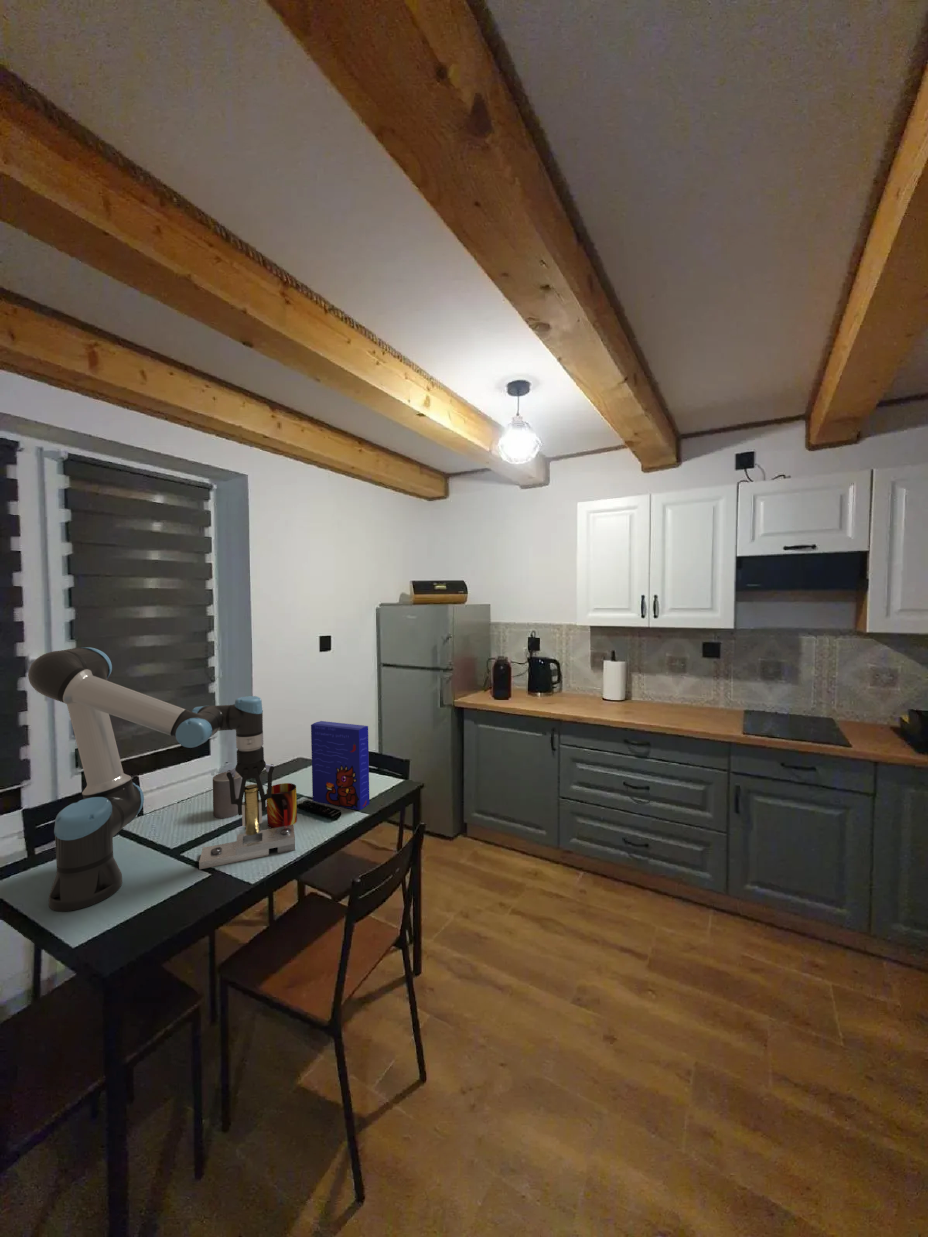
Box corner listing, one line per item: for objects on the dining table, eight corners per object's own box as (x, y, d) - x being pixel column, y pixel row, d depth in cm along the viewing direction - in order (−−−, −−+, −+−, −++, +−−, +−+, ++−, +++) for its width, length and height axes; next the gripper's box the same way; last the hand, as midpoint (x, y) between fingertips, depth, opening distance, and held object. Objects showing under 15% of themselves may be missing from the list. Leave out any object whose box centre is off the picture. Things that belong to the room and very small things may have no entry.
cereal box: (369, 803, 177) (368, 725, 176) (360, 810, 172) (358, 729, 171) (322, 795, 186) (321, 720, 185) (312, 801, 180) (310, 724, 179)
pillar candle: (210, 812, 172) (208, 772, 171) (238, 804, 178) (237, 765, 177) (217, 821, 164) (216, 779, 164) (246, 813, 171) (245, 772, 170)
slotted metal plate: (199, 869, 135) (198, 853, 134) (203, 854, 143) (202, 839, 143) (295, 850, 145) (294, 835, 144) (293, 836, 153) (293, 822, 153)
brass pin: (244, 837, 141) (242, 791, 140) (244, 830, 145) (243, 785, 145) (260, 833, 143) (259, 788, 142) (260, 827, 147) (259, 783, 146)
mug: (285, 835, 154) (284, 799, 154) (261, 824, 162) (260, 790, 161) (310, 823, 162) (309, 789, 161) (286, 813, 170) (285, 781, 169)
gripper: (217, 755, 136) (220, 834, 137) (280, 747, 143) (282, 822, 144) (219, 748, 143) (222, 823, 144) (279, 740, 150) (281, 812, 151)
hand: (252, 822), depth 144 cm, fingers closed on brass pin, 4 cm apart
